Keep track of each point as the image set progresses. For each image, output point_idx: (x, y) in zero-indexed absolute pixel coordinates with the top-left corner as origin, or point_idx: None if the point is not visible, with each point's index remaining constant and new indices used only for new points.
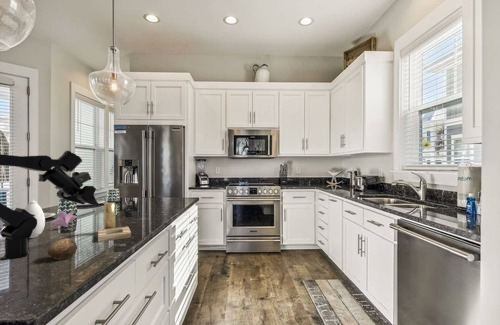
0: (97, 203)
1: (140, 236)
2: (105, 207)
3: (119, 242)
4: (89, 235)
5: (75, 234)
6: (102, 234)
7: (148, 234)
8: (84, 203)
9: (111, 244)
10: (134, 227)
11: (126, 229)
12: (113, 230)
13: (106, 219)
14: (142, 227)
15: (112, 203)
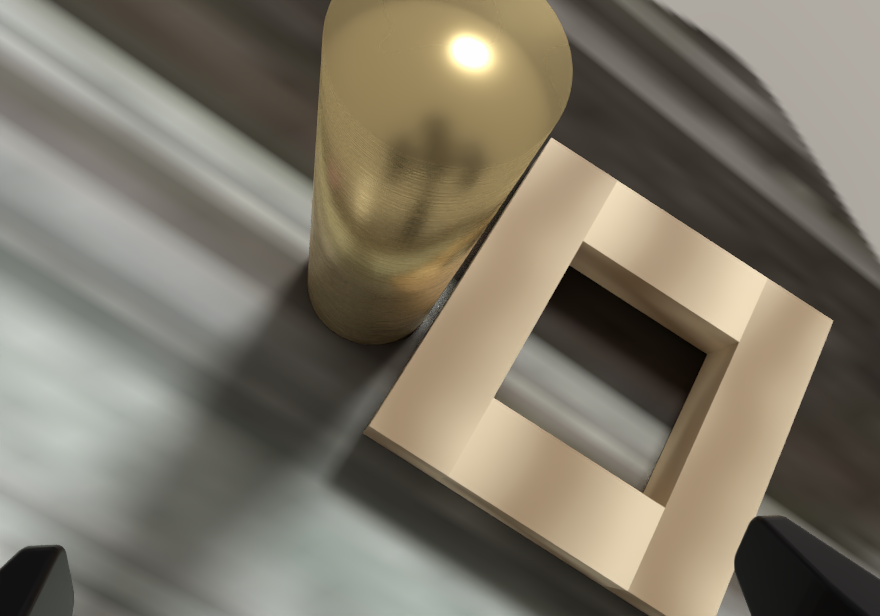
0: (820, 556)
1: (833, 266)
2: (452, 205)
3: (865, 510)
4: (286, 515)
5: None
6: (639, 537)
7: (830, 184)
8: (66, 577)
9: None
10: None
11: (663, 246)
12: (534, 325)
13: (426, 287)
14: None
15: (540, 48)
